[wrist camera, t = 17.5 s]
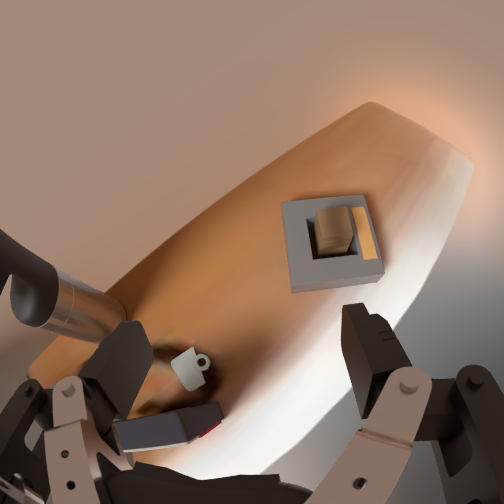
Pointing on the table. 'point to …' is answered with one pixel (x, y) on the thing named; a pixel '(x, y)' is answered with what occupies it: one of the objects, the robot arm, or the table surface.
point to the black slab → (168, 428)
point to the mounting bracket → (190, 369)
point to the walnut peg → (332, 232)
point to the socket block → (337, 268)
